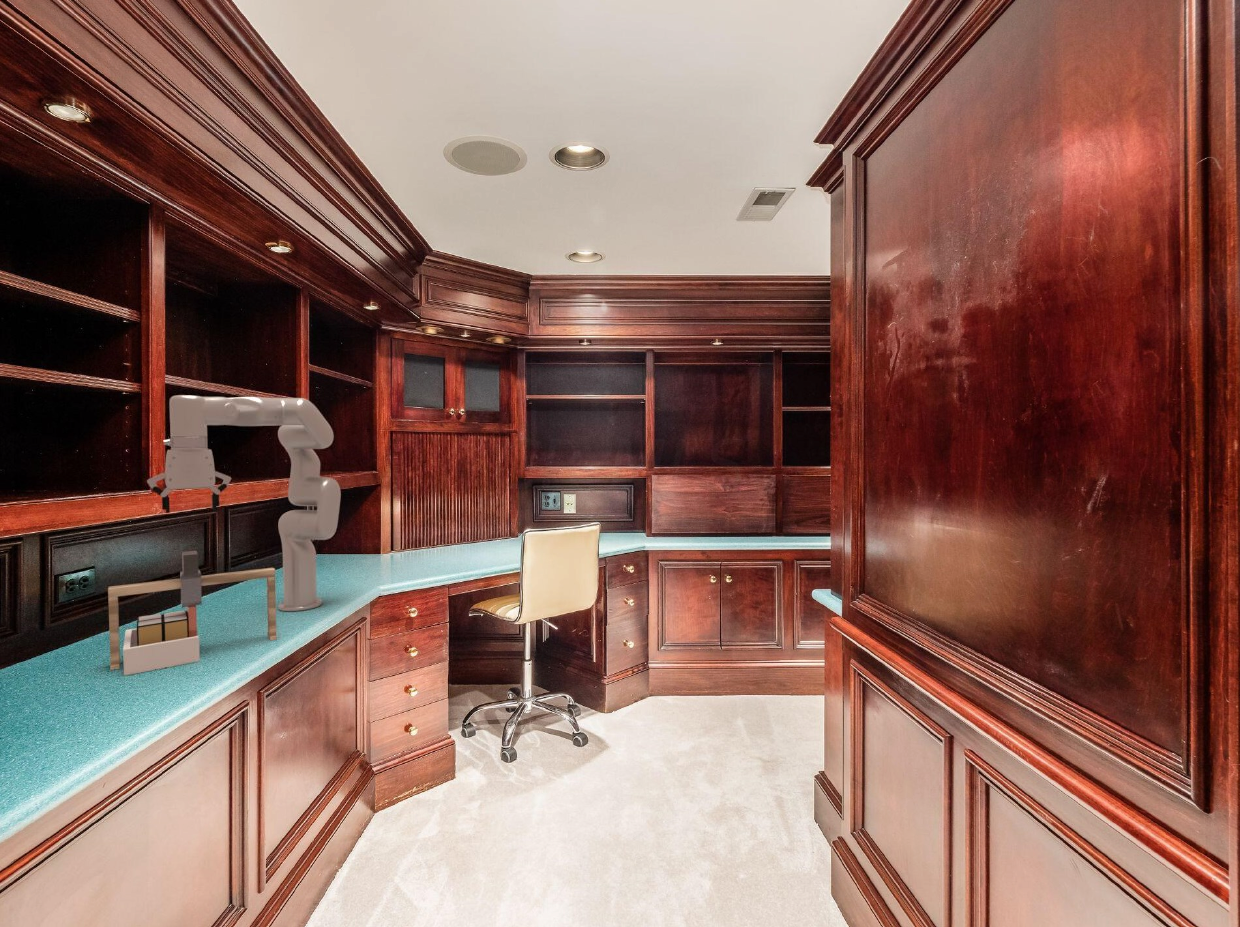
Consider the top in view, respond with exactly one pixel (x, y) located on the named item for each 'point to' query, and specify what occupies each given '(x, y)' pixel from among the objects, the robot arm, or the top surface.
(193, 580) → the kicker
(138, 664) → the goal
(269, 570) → the rail gantry
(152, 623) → the puzzle cube
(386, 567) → the top surface
